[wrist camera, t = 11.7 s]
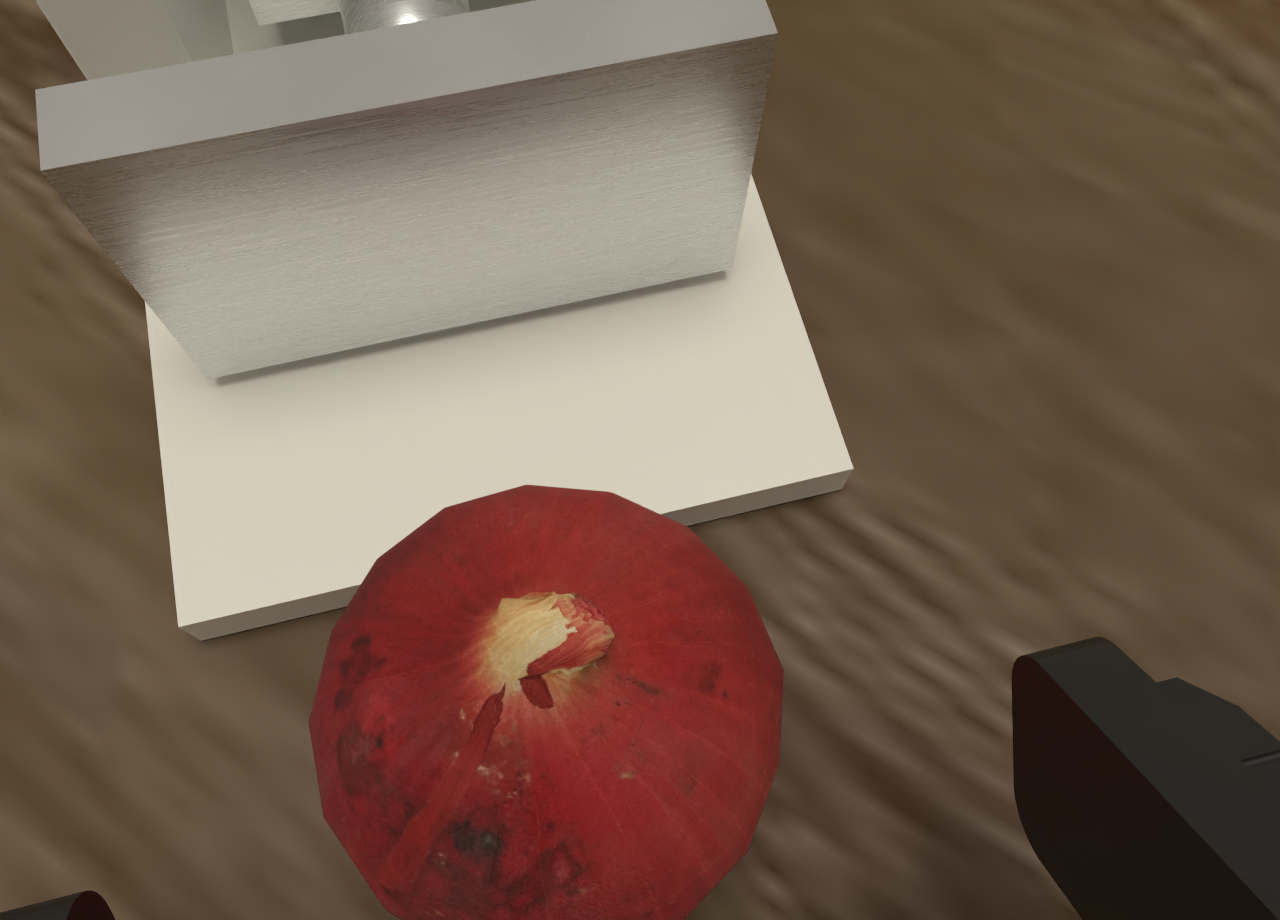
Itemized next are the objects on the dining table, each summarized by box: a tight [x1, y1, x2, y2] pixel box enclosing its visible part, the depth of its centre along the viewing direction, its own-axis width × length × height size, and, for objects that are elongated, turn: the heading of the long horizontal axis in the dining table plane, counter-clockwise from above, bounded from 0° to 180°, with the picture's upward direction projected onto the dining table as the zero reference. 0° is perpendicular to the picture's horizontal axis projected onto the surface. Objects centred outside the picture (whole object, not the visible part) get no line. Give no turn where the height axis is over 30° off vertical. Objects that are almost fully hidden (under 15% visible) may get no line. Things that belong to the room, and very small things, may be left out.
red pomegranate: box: [309, 485, 784, 920], centre depth 14 cm, size 6×6×8 cm
